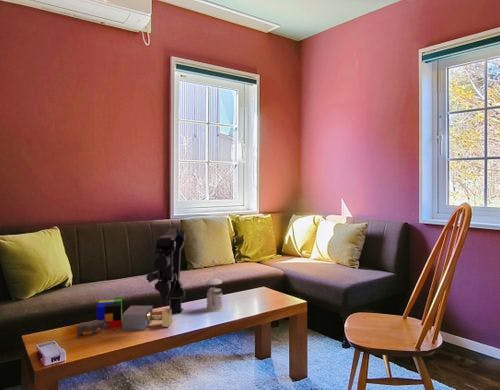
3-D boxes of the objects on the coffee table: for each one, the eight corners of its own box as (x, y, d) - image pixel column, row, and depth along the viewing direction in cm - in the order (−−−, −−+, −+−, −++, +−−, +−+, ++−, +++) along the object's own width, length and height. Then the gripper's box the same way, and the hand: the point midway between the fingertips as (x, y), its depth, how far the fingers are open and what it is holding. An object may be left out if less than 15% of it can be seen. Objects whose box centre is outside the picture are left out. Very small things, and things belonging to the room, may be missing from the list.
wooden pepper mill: (134, 321, 179) (134, 308, 179) (171, 321, 179) (171, 308, 179) (130, 326, 173) (130, 313, 173) (168, 326, 173) (168, 313, 173)
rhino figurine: (111, 332, 169) (111, 318, 168) (77, 339, 161) (76, 325, 160) (108, 329, 172) (108, 315, 172) (74, 336, 164) (74, 322, 164)
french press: (225, 306, 203) (225, 258, 202) (222, 313, 192) (221, 262, 191) (207, 305, 204) (206, 257, 203) (202, 313, 193) (201, 262, 192)
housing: (131, 320, 182) (130, 305, 182) (152, 320, 182) (152, 305, 182) (122, 330, 170) (122, 314, 170) (145, 330, 170) (145, 314, 170)
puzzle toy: (96, 330, 171) (96, 307, 171) (99, 322, 181) (98, 300, 180) (121, 327, 174) (120, 305, 174) (122, 320, 183) (121, 298, 183)
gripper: (153, 261, 185) (153, 294, 185) (142, 269, 166) (142, 306, 167) (177, 261, 185) (177, 294, 185) (168, 269, 166) (169, 306, 166)
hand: (166, 299), depth 176 cm, fingers open, 9 cm apart
